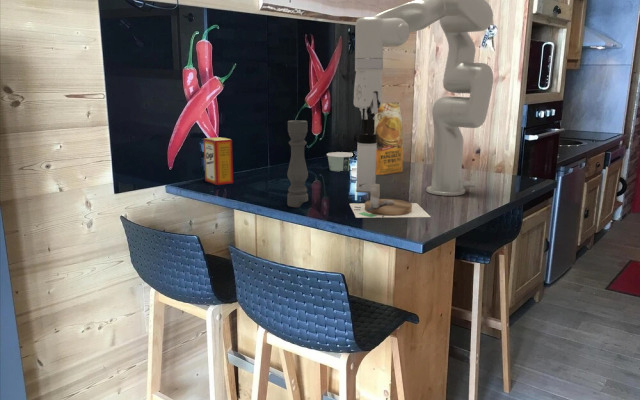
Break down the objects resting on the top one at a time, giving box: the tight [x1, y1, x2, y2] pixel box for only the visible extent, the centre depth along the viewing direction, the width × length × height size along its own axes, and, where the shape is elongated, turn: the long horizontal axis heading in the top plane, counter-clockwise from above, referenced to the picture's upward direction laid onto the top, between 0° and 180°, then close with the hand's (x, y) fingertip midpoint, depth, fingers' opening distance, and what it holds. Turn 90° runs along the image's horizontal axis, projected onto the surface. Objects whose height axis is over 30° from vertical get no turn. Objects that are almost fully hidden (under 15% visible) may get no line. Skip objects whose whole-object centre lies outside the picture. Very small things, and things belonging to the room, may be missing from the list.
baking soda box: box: [203, 136, 234, 186], centre depth 195 cm, size 10×6×16 cm
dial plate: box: [349, 202, 431, 219], centre depth 151 cm, size 20×16×2 cm
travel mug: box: [355, 134, 377, 194], centre depth 178 cm, size 6×7×20 cm
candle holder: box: [286, 119, 309, 208], centre depth 160 cm, size 6×6×25 cm
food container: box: [326, 151, 353, 172], centre depth 224 cm, size 12×12×6 cm
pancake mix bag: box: [374, 102, 404, 176], centre depth 215 cm, size 7×19×28 cm, turn 130°
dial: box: [364, 183, 412, 215], centre depth 149 cm, size 16×13×8 cm
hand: (367, 133), depth 150 cm, fingers closed
